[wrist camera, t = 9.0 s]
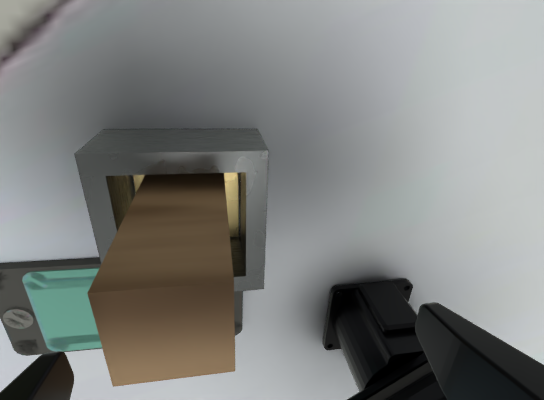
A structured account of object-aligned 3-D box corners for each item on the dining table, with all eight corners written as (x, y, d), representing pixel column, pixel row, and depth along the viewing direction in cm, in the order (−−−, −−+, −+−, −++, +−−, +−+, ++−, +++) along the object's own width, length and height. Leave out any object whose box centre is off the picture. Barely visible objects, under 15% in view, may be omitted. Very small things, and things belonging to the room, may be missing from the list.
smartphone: (-23, 273, 18) (243, 258, 21) (-10, 259, 19) (241, 246, 22) (16, 361, 21) (242, 339, 24) (26, 345, 22) (241, 326, 25)
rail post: (224, 225, 20) (235, 371, 11) (157, 228, 19) (113, 386, 11) (223, 164, 18) (234, 281, 9) (149, 165, 18) (87, 293, 9)
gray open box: (255, 247, 21) (263, 288, 18) (128, 256, 20) (110, 302, 17) (257, 128, 18) (268, 150, 14) (103, 129, 17) (74, 153, 13)
